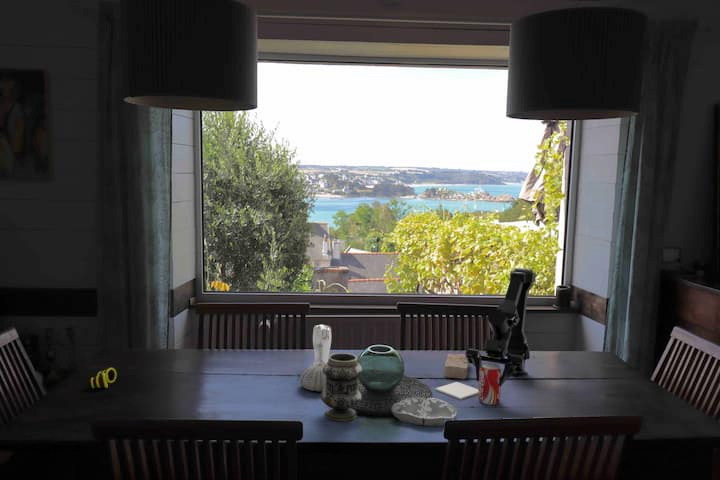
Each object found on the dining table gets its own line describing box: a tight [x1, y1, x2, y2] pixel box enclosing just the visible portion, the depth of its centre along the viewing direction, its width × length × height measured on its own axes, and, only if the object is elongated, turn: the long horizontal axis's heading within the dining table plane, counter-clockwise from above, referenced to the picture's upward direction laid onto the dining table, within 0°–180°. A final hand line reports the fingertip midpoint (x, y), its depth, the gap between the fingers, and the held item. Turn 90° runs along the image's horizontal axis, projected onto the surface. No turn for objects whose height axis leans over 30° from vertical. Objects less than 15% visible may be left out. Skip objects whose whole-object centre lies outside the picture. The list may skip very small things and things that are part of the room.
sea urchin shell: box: [299, 363, 326, 392], centre depth 195 cm, size 13×14×8 cm
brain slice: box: [391, 396, 458, 427], centre depth 173 cm, size 20×17×3 cm
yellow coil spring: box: [90, 367, 117, 389], centre depth 193 cm, size 10×5×5 cm, turn 3°
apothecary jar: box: [320, 352, 363, 422], centre depth 172 cm, size 12×12×18 cm
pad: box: [434, 381, 478, 401], centre depth 195 cm, size 11×11×1 cm
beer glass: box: [312, 324, 332, 364], centre depth 217 cm, size 7×7×15 cm
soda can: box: [477, 362, 502, 406], centre depth 185 cm, size 7×7×12 cm
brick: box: [443, 353, 470, 380], centre depth 216 cm, size 17×8×5 cm, turn 167°
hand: (488, 383), depth 184 cm, fingers closed on soda can, 7 cm apart
